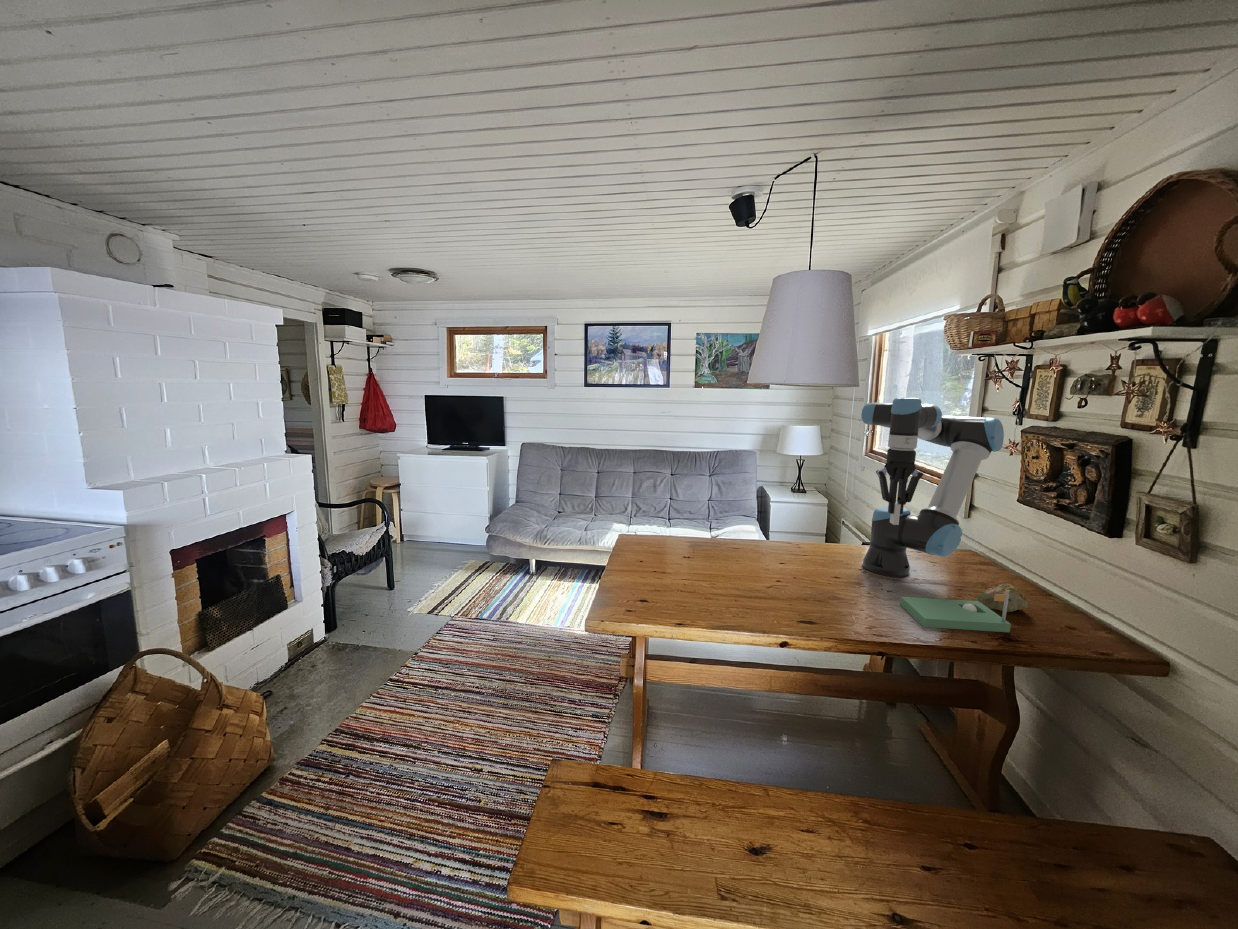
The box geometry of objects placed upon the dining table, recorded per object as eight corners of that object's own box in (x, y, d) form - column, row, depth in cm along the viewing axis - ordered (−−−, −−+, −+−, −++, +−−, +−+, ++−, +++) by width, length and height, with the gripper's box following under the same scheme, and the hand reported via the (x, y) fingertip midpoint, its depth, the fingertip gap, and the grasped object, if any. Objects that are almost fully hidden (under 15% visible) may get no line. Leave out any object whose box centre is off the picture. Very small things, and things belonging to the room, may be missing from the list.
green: (900, 604, 144) (903, 572, 142) (977, 608, 141) (981, 576, 139) (923, 626, 130) (927, 591, 128) (1009, 632, 127) (1015, 596, 125)
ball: (956, 609, 138) (962, 599, 137) (967, 614, 138) (973, 604, 137) (965, 615, 134) (971, 605, 134) (975, 620, 134) (982, 609, 134)
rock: (988, 623, 142) (976, 597, 140) (979, 606, 149) (968, 581, 148) (1035, 616, 136) (1024, 588, 135) (1024, 598, 144) (1012, 571, 142)
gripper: (884, 449, 138) (877, 526, 142) (931, 450, 137) (922, 527, 140) (874, 446, 145) (867, 519, 149) (918, 447, 144) (910, 521, 148)
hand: (894, 523), depth 145 cm, fingers closed
